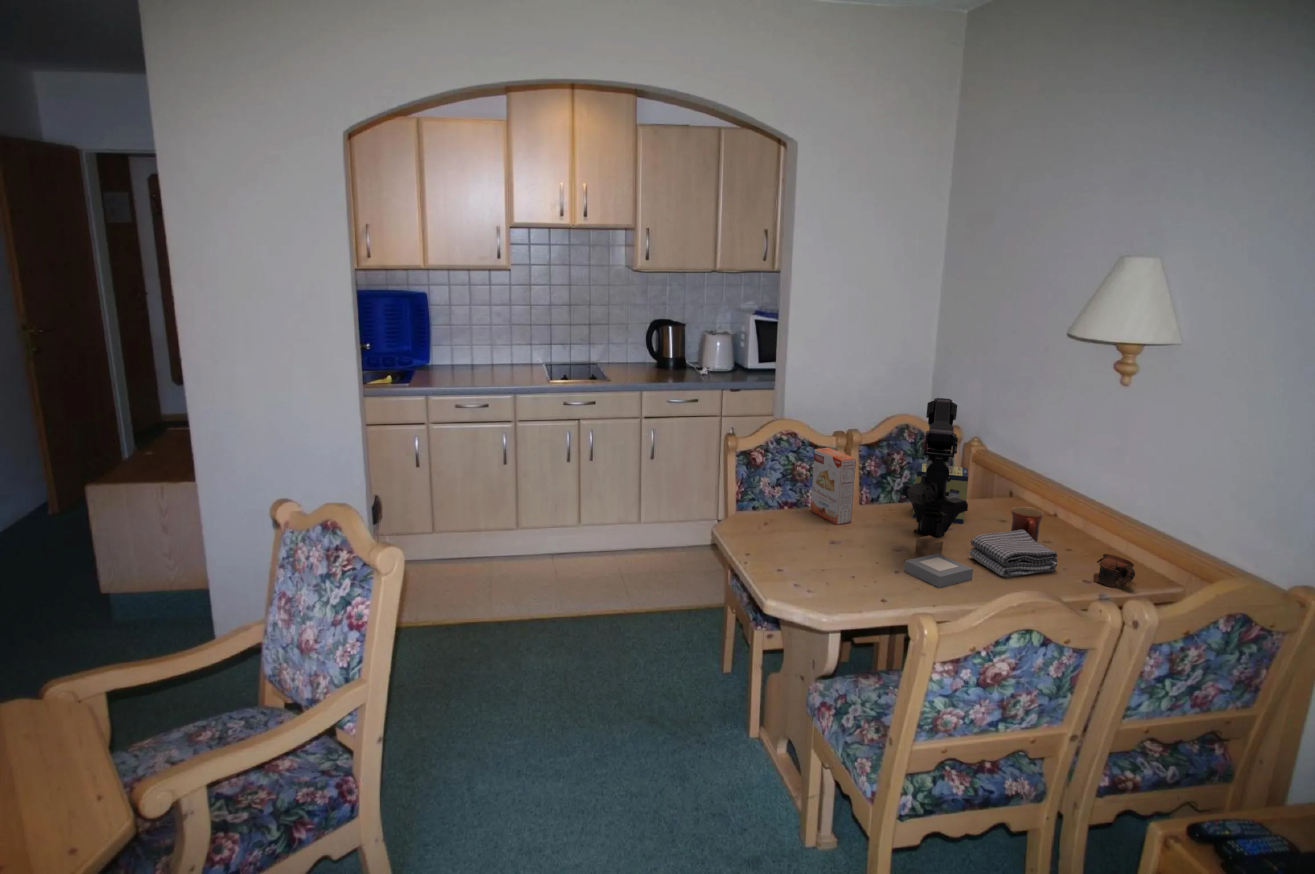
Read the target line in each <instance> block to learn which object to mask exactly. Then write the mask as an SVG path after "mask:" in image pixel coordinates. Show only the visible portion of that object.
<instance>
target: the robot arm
mask: <svg viewBox="0 0 1315 874" xmlns="http://www.w3.org/2000/svg"><path fill="white" fill-rule="evenodd" d="M926 405H927V406H926V414H925V415H926V416H925V417H926V419H927V418H928V420H927V424H928V427H929V429H928V430H926V432H925V441H924V442H925V443H924V453H923V455H925V456H927V459H926V464H927V466H926V475H924V476H922V478H921V482H920V483H915V482H914V483H910V484H905V485H904V486H903V487H902V492H901V493H902V494H901V496H904V498H905V499H906V500H908V501H909V502H910V504H911V506H912V509H914V513H915V517H916V518H915V520H916V523H917V529H914V530H913V532H914V533H916V534H919V535H921V536H922V537H924V536H929V535H930V536H932V537H935V538H938V537H942V536H945V534H946V533H947V532H948V530H949V529H950V527H951V526H952V524H954V523H953V521H954V520H955V518H956V517H957V516H958V515H959V513H963V512H968V510H969V509H968V508H969V503H968V502H967V500H966V501H965V500H962V499H960V498H957V497H955V498H950V499H948V498H946V496H949V492H947V491H946V487H947V482H950V481H951V478H950V477H949V466H950V460H951V459H950V458H955V455H956V454H957V453H958V442H959V438H958V437H957V436H958V435H957V434H956V433H954V430H955V429H954V421H956V420H957V413H958V404H956V403H955V402H953V399H951V398H944V397H936V398H934V399H933V400H931V401H928V402H927V404H926ZM942 520H943V521H942Z"/></svg>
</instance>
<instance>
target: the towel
mask: <svg viewBox="0 0 1315 874" xmlns="http://www.w3.org/2000/svg"><path fill="white" fill-rule="evenodd" d="M970 544H971V546H972V548H970V550H969V555H970V556H971V557H972V558H973V559H974V560H976V561H977V562H978V563H980V564H981V565H984V566H985V567H986V568H987V569H989V570H991V571H992V572H994V573H996V574H997V575H999V576H1000V577H1003V578H1011V577H1017V576H1018V577H1020V576H1026V575H1033V574H1039V573H1046V572H1055V571H1056V568H1057V566H1058V559H1057V557H1058V553H1057V551H1054V550H1053V549H1051V548H1049V547H1047V546H1045V545H1043V544H1041V543H1039V542H1038V541H1037V542H1035V541H1034V539H1032V537H1031V536H1030V535H1029V534H1028V533H1027V532H1026V531H1025V530H1017V531H1011V530H1010V531H1001V532H992V533H991V532H990V533H982V534H978V535H976V536H975V537H973V538H972V539H971V540H970Z"/></svg>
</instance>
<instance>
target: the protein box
mask: <svg viewBox="0 0 1315 874" xmlns="http://www.w3.org/2000/svg"><path fill="white" fill-rule="evenodd" d="M926 466H927V463H922V462H921V463H920V462H918V463H917V466H916V474H915V481H914V483H920V482H921V478H922V476H924V475H926ZM949 477H950V478H951V481H950V482H947V487H946V491H947V492H949V496H946V498H948V499H950V498H955V497H957V498H960V499H962V500H965V501H966V502H967V495H968V485H969V484H968V483H969V473H968V467H962V466H950V465H949ZM912 509H913V508H912ZM965 512H966V511H965ZM965 512H963V513H959V515H958V516H957V517H956V518H955V520H954V521H953V523H952V524H959V525H960V524H961V525H962V524H964V521H965V520H964V519H965ZM912 518H913V519H916V517H915V513H914V509H913V510H912ZM942 522H943V520H942Z"/></svg>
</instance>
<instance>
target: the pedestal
mask: <svg viewBox="0 0 1315 874" xmlns="http://www.w3.org/2000/svg"><path fill="white" fill-rule="evenodd" d="M903 571H904V573H908V574H909V575H911V576H914V577H915V578H918V579H920V580H921V581H923V582H926V583H928V584H930V585H932V586H934V587H937V588H938V589H940V588H943V587H948V586H951V585H956V584H960V583H964V582H967V581H972V580H973V574H974V568H972V567H971V566H969V565H966V564H964V563H962V562H959V561H956V560H955V559H952V558H950V557H947V556H945V555H943V554H942V555H941V554H939V553H936V554H932V555H928V556H923V557H919V556H918V557H916V558H910V559H906V560H904V570H903Z"/></svg>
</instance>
